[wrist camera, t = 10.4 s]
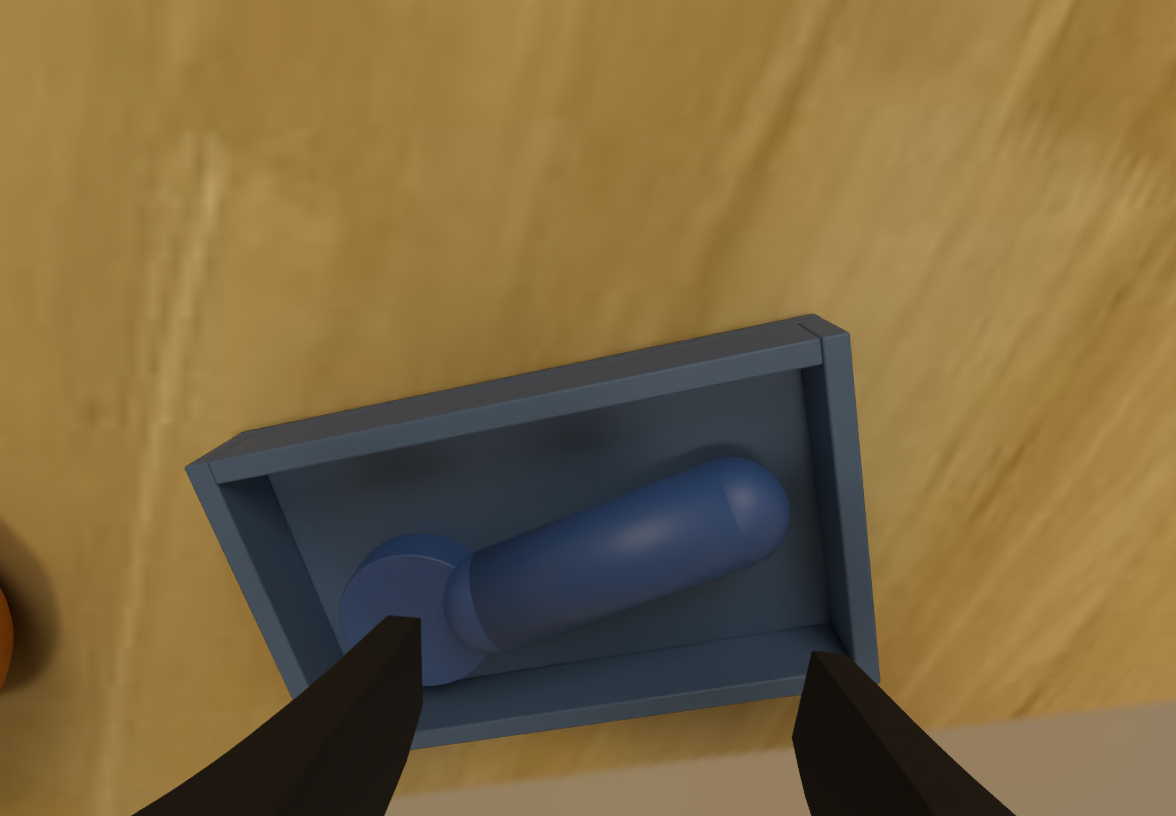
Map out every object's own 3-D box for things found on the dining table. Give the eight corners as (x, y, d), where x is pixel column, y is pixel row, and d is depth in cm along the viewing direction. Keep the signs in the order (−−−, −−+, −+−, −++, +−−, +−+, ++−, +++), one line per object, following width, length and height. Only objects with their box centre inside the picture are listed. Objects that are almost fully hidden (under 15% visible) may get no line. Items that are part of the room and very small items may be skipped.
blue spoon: (743, 397, 15) (770, 435, 12) (797, 536, 16) (831, 595, 13) (327, 563, 17) (277, 625, 14) (401, 676, 18) (367, 751, 15)
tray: (814, 313, 15) (850, 331, 12) (847, 624, 17) (881, 684, 15) (240, 431, 16) (183, 467, 14) (355, 699, 19) (321, 764, 17)
